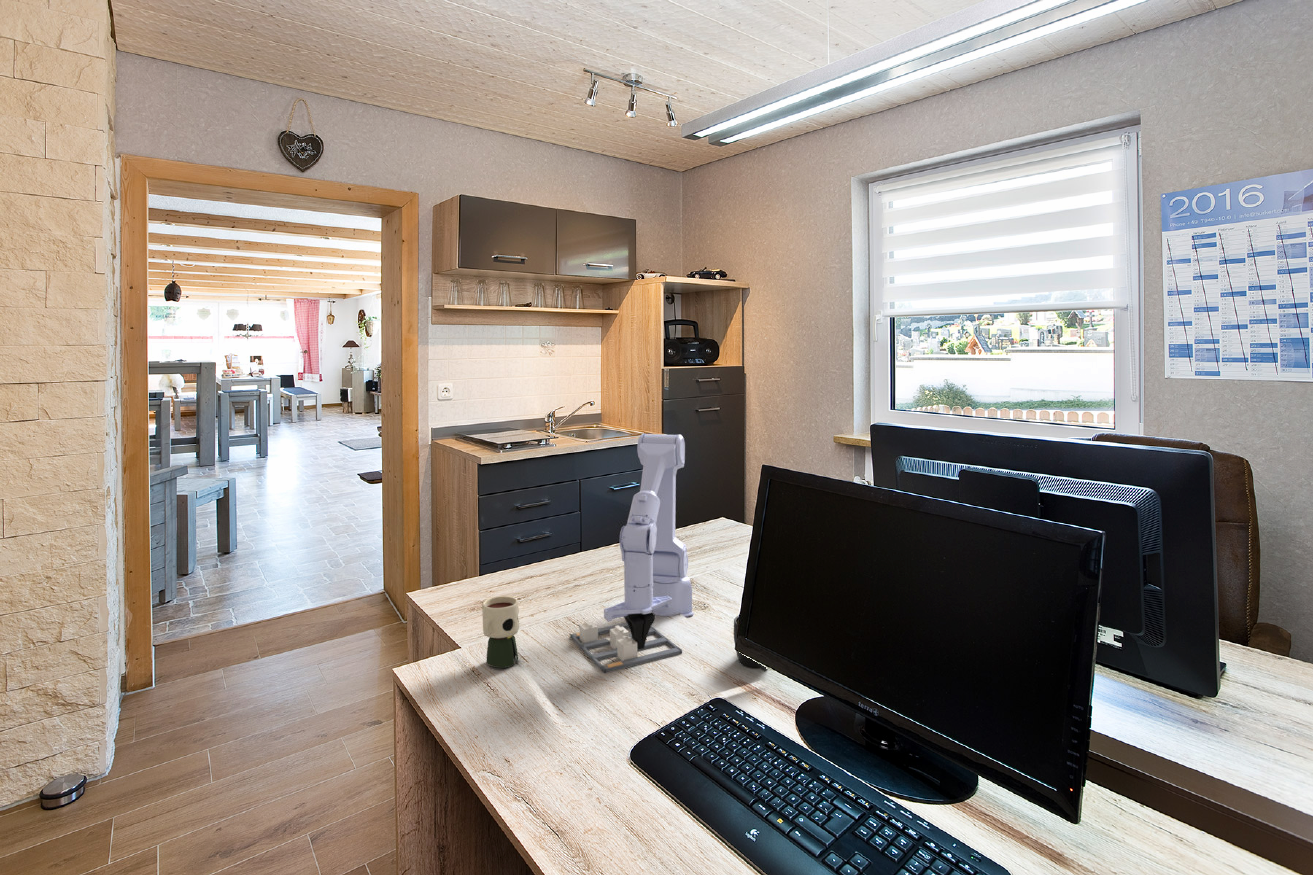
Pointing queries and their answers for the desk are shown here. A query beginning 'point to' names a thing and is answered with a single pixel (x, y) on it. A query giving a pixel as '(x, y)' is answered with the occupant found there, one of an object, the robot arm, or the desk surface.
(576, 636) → the switch bank
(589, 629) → the tab
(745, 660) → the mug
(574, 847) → the desk surface
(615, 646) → the tab
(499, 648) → the character mug
